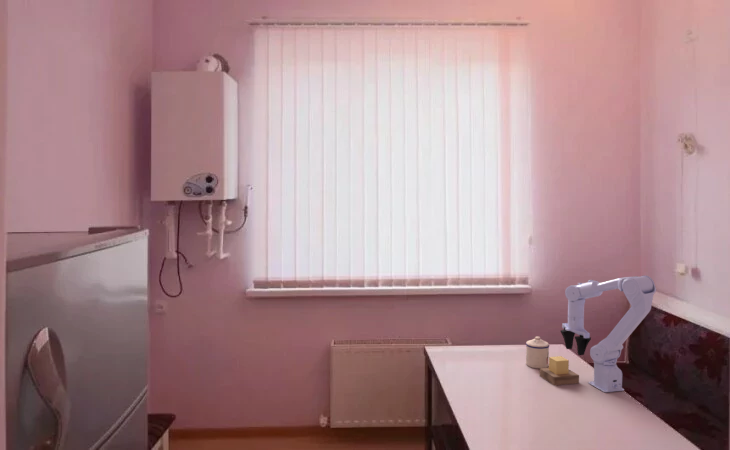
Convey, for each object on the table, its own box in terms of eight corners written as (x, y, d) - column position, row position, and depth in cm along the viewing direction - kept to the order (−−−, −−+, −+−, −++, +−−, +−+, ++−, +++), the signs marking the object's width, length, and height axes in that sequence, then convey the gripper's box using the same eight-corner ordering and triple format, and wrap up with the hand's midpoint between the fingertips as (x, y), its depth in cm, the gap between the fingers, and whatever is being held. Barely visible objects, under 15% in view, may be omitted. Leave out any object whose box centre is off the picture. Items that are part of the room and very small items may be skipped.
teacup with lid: (552, 368, 212) (552, 340, 211) (529, 369, 212) (529, 340, 211) (542, 359, 224) (542, 331, 223) (520, 359, 224) (520, 332, 223)
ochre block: (568, 373, 198) (568, 360, 198) (556, 374, 197) (556, 361, 197) (560, 369, 203) (561, 356, 203) (548, 370, 202) (549, 357, 202)
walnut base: (578, 383, 197) (579, 375, 196) (554, 385, 195) (554, 377, 194) (563, 373, 206) (563, 366, 206) (539, 376, 204) (539, 368, 204)
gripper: (555, 312, 209) (554, 346, 210) (578, 321, 195) (577, 358, 196) (571, 311, 210) (570, 345, 211) (595, 320, 196) (594, 357, 197)
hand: (574, 351), depth 204 cm, fingers open, 7 cm apart
